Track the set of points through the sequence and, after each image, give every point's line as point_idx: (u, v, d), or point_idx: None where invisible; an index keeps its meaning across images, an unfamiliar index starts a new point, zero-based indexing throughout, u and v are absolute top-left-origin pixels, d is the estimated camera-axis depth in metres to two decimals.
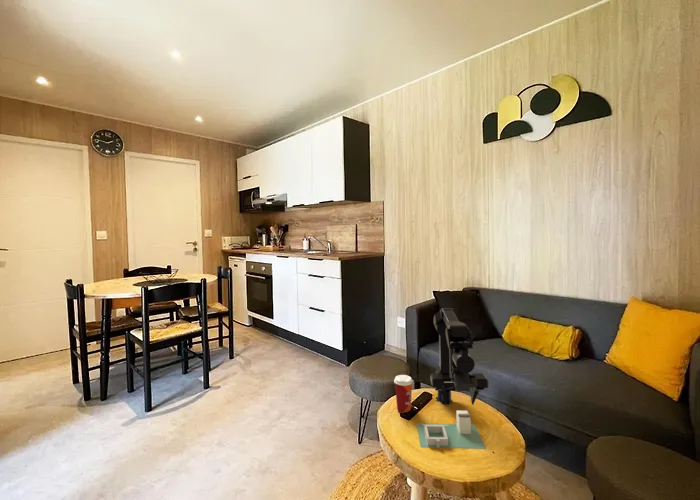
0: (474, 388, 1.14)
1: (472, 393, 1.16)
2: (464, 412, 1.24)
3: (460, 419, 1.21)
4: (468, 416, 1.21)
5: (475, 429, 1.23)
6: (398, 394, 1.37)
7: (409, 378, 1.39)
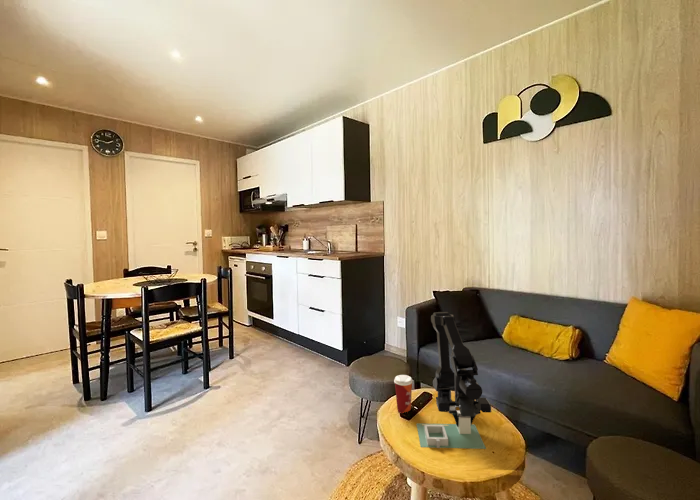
0: None
1: None
2: None
3: (460, 419, 1.21)
4: (468, 416, 1.21)
5: (475, 429, 1.23)
6: (398, 394, 1.37)
7: (409, 378, 1.39)
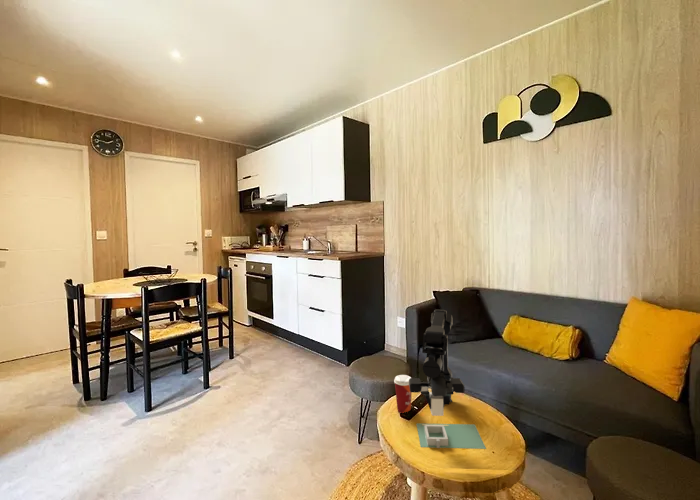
0: None
1: None
2: None
3: (432, 400, 1.16)
4: (441, 397, 1.16)
5: (475, 429, 1.23)
6: (398, 394, 1.37)
7: (409, 378, 1.39)
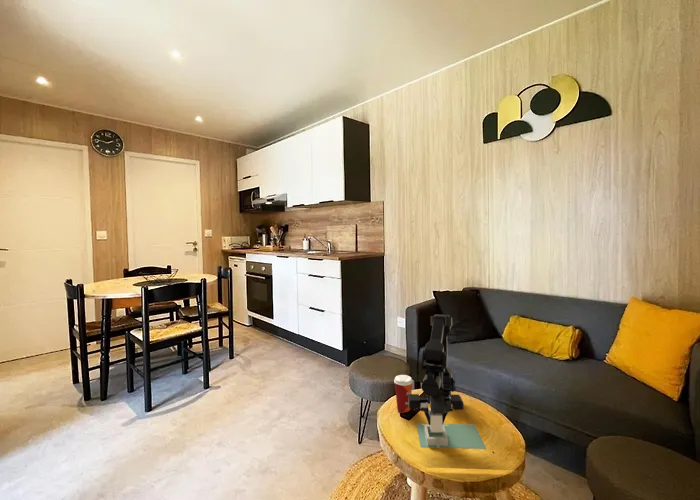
0: None
1: None
2: None
3: (431, 417, 1.16)
4: (440, 414, 1.16)
5: (475, 429, 1.23)
6: (398, 394, 1.37)
7: (409, 378, 1.39)
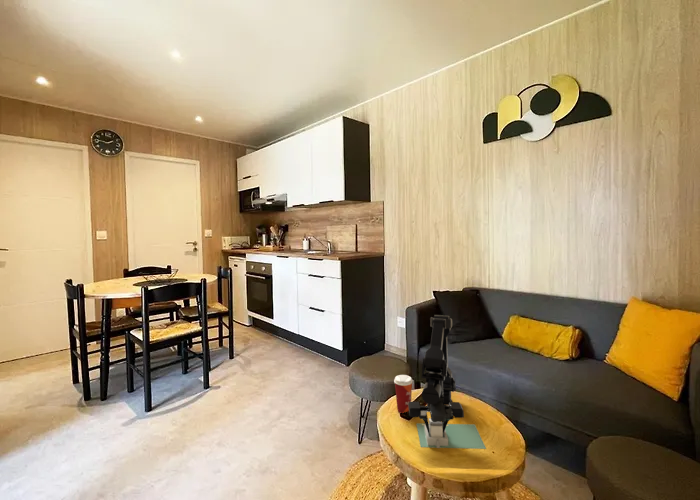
0: None
1: (442, 422, 1.19)
2: None
3: (432, 428, 1.17)
4: (440, 424, 1.17)
5: (475, 429, 1.23)
6: (398, 394, 1.37)
7: (409, 378, 1.39)
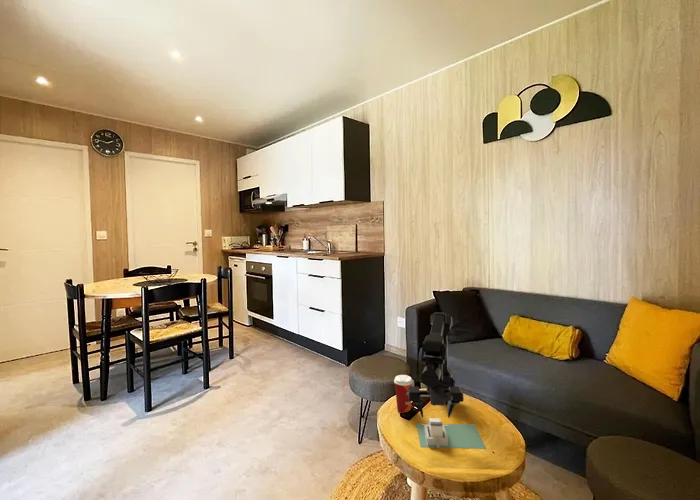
0: (450, 402, 1.16)
1: (448, 406, 1.18)
2: (437, 420, 1.20)
3: (432, 428, 1.17)
4: (440, 424, 1.17)
5: (475, 429, 1.23)
6: (398, 394, 1.37)
7: (409, 378, 1.39)
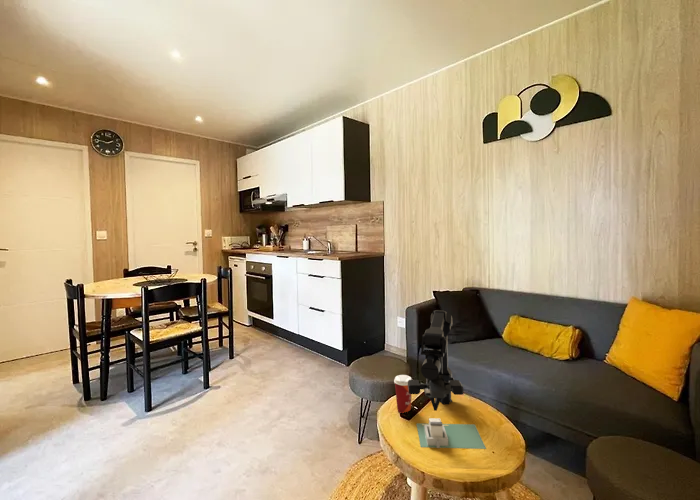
0: None
1: (435, 399, 1.18)
2: (437, 420, 1.20)
3: (432, 428, 1.17)
4: (440, 424, 1.17)
5: (475, 429, 1.23)
6: (398, 394, 1.37)
7: (409, 378, 1.39)
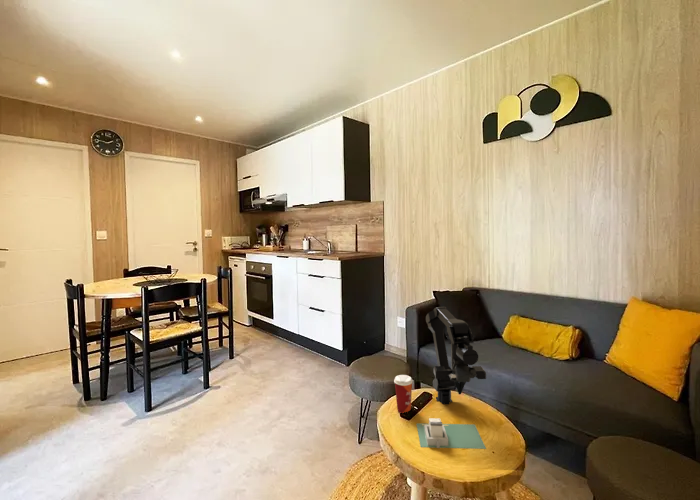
0: None
1: (460, 384, 1.28)
2: (437, 420, 1.20)
3: (432, 428, 1.17)
4: (440, 424, 1.17)
5: (475, 429, 1.23)
6: (398, 394, 1.37)
7: (409, 378, 1.39)
